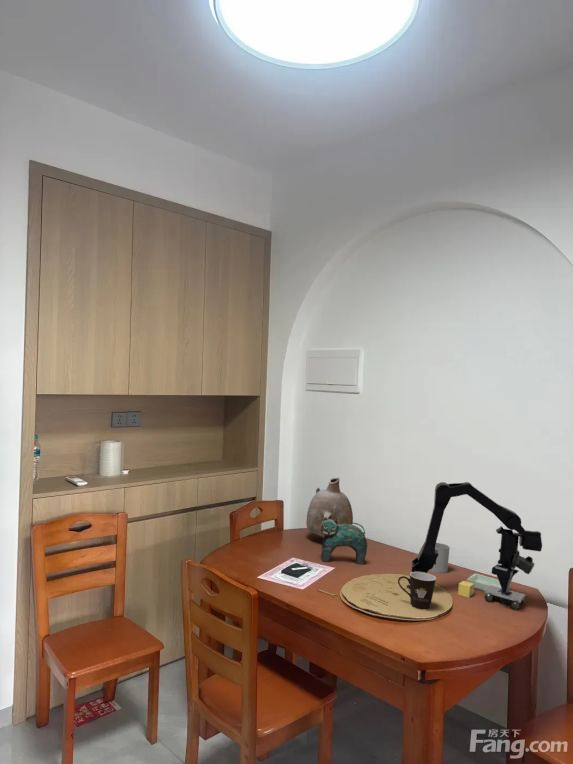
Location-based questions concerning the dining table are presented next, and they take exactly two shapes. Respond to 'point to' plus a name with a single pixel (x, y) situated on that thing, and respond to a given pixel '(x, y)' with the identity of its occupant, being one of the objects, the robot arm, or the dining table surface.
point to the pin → (506, 593)
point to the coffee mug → (420, 589)
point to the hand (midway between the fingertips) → (505, 590)
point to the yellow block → (466, 588)
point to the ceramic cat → (342, 539)
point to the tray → (483, 582)
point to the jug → (328, 507)
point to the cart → (504, 596)
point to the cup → (441, 559)
